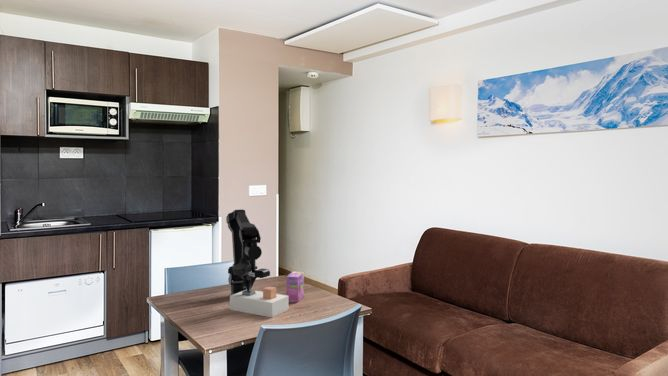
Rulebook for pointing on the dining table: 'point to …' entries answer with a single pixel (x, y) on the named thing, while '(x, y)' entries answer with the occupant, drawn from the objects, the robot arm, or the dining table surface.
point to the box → (295, 286)
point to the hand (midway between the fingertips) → (248, 291)
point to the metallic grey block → (248, 292)
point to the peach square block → (269, 292)
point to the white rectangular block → (259, 304)
